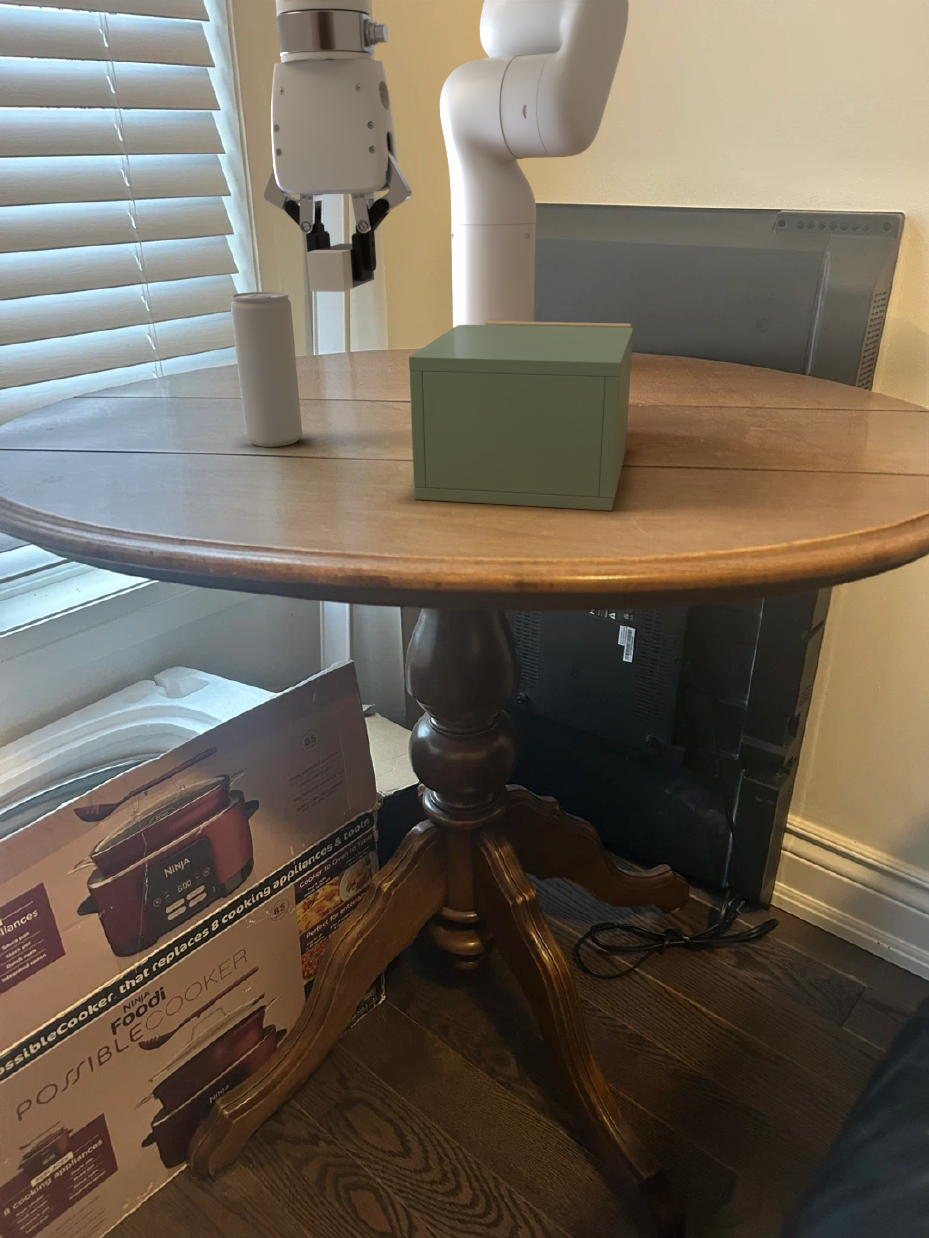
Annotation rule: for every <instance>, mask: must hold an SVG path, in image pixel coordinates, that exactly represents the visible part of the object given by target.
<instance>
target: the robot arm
mask: <svg viewBox="0 0 929 1238" xmlns="http://www.w3.org/2000/svg"><path fill="white" fill-rule="evenodd" d="M274 3H275V8H276V9H275V10H276V23H277V34H278V35H277V36H278V44H279V55H280V62H275V63H274V65H273V73H272V84H271V86H272V87H271V107H270V108H271V117H270V118H271V119H270V120H271V121H270V123H271V145H272V160H273V161H272V162H273V168H272V171H271V173H270V176H269V179H268V182H267V184H266V187H265V190H264V192H263V193H264V194H263V197H264V199H265V200H266V202H268V203H270V204H271V205H273V206H275V207H276V208H278V209H280V210H282V211H284V212H285V213H286V214H287V215H288V216H289V217H290V218H291V219H292V220H293V221H294V222H295V224H296V225H297V226H298V227H299V229H300V231H301V232H302V233H303V234H305V240H306V241H305V242H306V250H307V251H306V253H307V252H311V251H315V250H319V249H322V248H326V247H330V246H332V245H331V236H330V235H331V234H330V233H329V231H328V230H326V229H325V224H324V201H325V200H324V199H325V197H324V196H325V195H350V197H351V202H352V209H353V213H354V219H355V227H354V228H355V232H354V233H352V234H351V244H352V249H353V254H354V268H355V279H356V280H357V281H358V282H363V281H366V280H368V279H371V278H372V271H374V272H375V271H376V269H377V255H376V253H377V250H376V236H375V235H376V234H375V231H376V230H378V228H379V226H380V225H381V223H382V222H383V221H384V220H385V219H386V217H387V216H388V215H389V213H390V212H391V211H392V210H394V209H395V208H397V207H398V206H400V205H402V204H403V203H405V202H406V201H407V200H409V199H410V198H411V197H412V194H413V193H412V188H411V187H410V185H409V183H408V182H407V180H406V177H405V176H404V174H403V172H402V170H401V169H400V166H399V162H398V161H399V160H398V151H397V142H396V134H395V132H396V131H395V125H394V124H395V123H394V118H393V110H392V103H391V96H390V92H389V91H390V90H389V87H388V86H389V85H388V80H387V74H386V71H385V67H384V63H383V61H381V60H376V59H373V55H374V54H375V48H376V46H378V45H379V44H383V43H388V40H389V39H388V38H389V31H388V26H387V24H386V23H385V22H382V23H381V22H380V23H378V22H377V21H374V20H373V16H371V14H370V13H371V12H370V0H275V2H274ZM629 7H630V6H629V0H484V1H483V4H482V8H481V14H480V18H479V19H480V20H479V39H480V44H481V47H482V49H483V51H484V52H485V53H486V55H487V57H482V58H477V59H474V60H470V61H467V62H465V63H463V64H461V65H459V66H458V67H456V68H454V70H453V71H451V72H450V73H449V75H448V76H447V78H446V79H445V81H444V84H443V86H442V89H441V92H440V98H439V114H440V116H439V117H440V123H441V128H442V133H443V139H444V144H445V150H446V156H447V163H448V172H449V185H450V206H451V207H450V209H451V210H450V212H451V214H450V215H451V227H450V228H451V280H452V281H451V282H452V284H451V286H452V329H453V328H454V327H456V326H457V325H485V323H486V322H488V321H514V322H535V318H534V317H535V280H536V279H535V275H536V274H535V273H536V229H537V226H536V224H537V205H536V199H535V195H534V191H533V189H532V187H531V184H530V183H529V181H528V179H527V177H526V175H525V174H524V172H523V170H522V168H521V166H520V164H519V161H518V160H522V159H543V158H567V157H568V158H569V157H573V156H578V155H580V154H582V153H584V152H585V151H587V150H588V149H589V148H590V146H591V145H592V144H593V142H594V141H595V139H596V137H597V134H598V132H599V130H600V127H601V124H602V121H603V117H604V114H605V112H606V108H607V103H608V100H609V97H610V93H611V89H612V87H613V83H614V79H615V75H616V72H617V68H618V65H619V62H620V58H621V55H622V52H623V47H624V44H625V39H626V34H627V30H628V23H629V10H630V9H629ZM385 191H388V192H387V193H385V194H384V195H383V196H381V197H379V198H377V199H376V198H375V193H376V192H377V193H379V192H385ZM292 195H299V199H297V198H295V197H293V196H292Z"/></svg>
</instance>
